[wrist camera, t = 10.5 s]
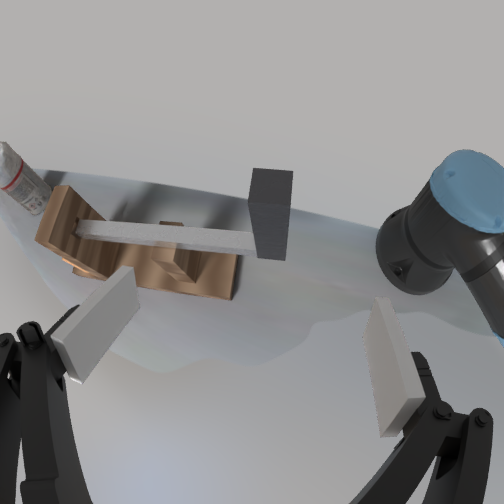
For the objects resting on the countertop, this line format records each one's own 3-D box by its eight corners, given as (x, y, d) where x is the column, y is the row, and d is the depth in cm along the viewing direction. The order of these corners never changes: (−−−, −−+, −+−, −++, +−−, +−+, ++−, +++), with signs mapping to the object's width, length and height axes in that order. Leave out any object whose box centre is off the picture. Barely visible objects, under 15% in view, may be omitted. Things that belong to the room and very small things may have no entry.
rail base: (238, 251, 47) (217, 186, 29) (231, 300, 44) (202, 260, 27) (89, 236, 51) (28, 187, 33) (78, 275, 48) (9, 236, 30)
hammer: (287, 238, 33) (293, 171, 21) (284, 263, 32) (290, 205, 20) (88, 222, 36) (33, 172, 24) (81, 241, 35) (22, 196, 23)
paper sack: (58, 183, 57) (10, 133, 38) (48, 214, 54) (-7, 167, 35) (36, 188, 57) (-11, 143, 39) (26, 217, 54) (-26, 175, 36)
